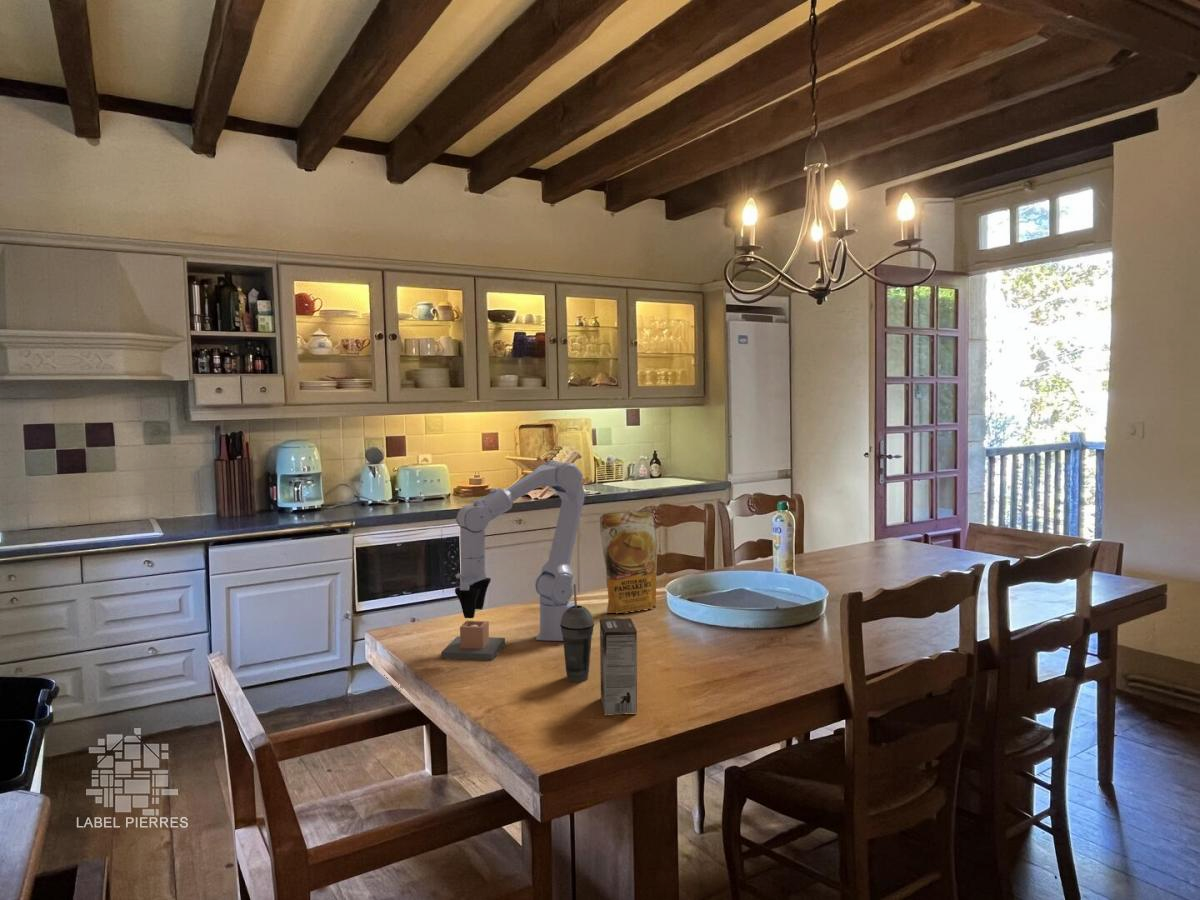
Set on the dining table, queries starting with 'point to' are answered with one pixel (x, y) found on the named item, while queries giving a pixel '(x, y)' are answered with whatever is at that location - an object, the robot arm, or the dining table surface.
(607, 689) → the coffee box
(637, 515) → the pancake mix bag
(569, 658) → the beverage cup
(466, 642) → the collar
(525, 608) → the dining table surface
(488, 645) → the post board
